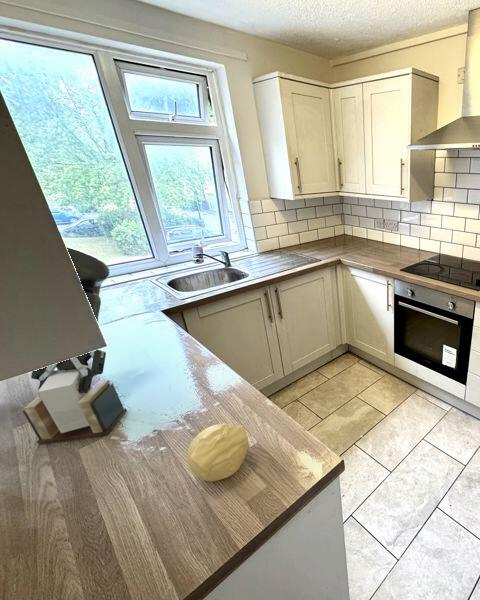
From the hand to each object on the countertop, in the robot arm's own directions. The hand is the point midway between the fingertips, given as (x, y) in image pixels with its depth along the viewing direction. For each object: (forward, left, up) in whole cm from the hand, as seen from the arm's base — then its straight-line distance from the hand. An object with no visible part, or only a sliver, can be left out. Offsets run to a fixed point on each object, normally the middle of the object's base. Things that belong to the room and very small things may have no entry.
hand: (63, 394), depth 80 cm
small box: (0, +1, -9) cm, 9 cm away
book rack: (0, +1, -12) cm, 12 cm away
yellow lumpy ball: (+39, -19, -12) cm, 45 cm away
